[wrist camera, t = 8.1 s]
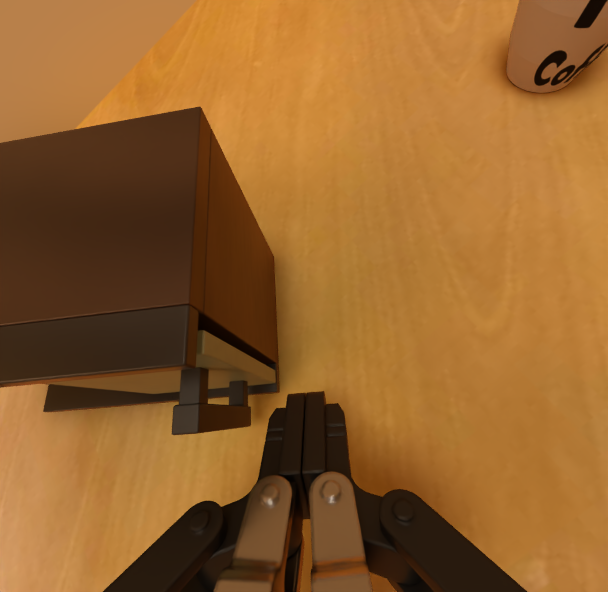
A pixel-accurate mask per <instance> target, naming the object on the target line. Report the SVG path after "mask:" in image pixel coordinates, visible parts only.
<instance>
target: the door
mask: <svg viewBox="0 0 608 592" xmlns="http://www.w3.org/2000/svg"><path fill="white" fill-rule="evenodd" d="M273 383H276V376H275V370H273V369H272V368H270V367H268V366H266V365H265V364H263V363H261V362H259V361H257V360H256V359H254V358H252V357H250V356H249V355H247V354H245V353H243V352H242V351H240V350H238V349H236V348H235V347H233V346H231V345H229V344H227V343H226V342H224V341H222V340H220V339H219V338H217V337H215V336H213V335H212V334H210V333H208V332H206V331H204V330H200V331H198V334H197V355H196V367H195V368H194V369H188V370H177V371H167V372H156V373H146V374H135V375H125V376H115V377H104V378H94V379H83V380H73V381H62V382H52V383H44V384H54V385H65V386H75V387H86V388H96V389H107V390H117V391H127V392H138V393H148V394H160V393H171V392H180V396H179V405H175V406H174V408H173V423H172V435H183V434H196V433H204V432H211V431H219V430H226V429H234V428H241V427H248V426H251V407H249V406H248V386H250V385H261V384H273ZM228 387H229V405H218V404H208V389H216V388H228Z"/></svg>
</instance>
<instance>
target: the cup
mask: <svg viewBox="0 0 608 592" xmlns="http://www.w3.org/2000/svg"><path fill="white" fill-rule="evenodd" d="M607 47H608V0H519V4H518V8H517V12H516V16H515V19H514V23H513V27H512V31H511V35H510V43H509V52H508V60H507V68H506V73H507V76H508V78H509V80H510V81H511V82H512V83H513V84H514V85H516V86H517V87H519V88H521V89H524V90H527V91H531V92H538V93H546V92H552V91H556V90H559V89H561V88H563V87H565V86H566V85H568V84H569V83H570V82H571V81H572V80H573V79H574V78H575V77H577V76H578V75H579V74H580V73H581V72H582V71H583V70H584V69H585V68H587V67H588V66H589V65H590V64H591V63H592V62H593V61H594V60H595V59H596V58H598V57H599V56H600V55H601V54H602V53H603V52H604V51H605V50H606V48H607Z"/></svg>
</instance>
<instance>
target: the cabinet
mask: <svg viewBox="0 0 608 592" xmlns="http://www.w3.org/2000/svg"><path fill="white" fill-rule="evenodd" d="M200 330H204V331H206V332H208V333H210V334H212V335H213V336H215V337H217V338H219V339H220V340H222V341H224V342H226V343H227V344H229V345H231V346H233V347H235V348H236V349H238V350H240V351H242V352H243V353H245V354H247V355H249V356H250V357H252V358H254V359H256V360H257V361H259V362H261V363H263V364H265V365H266V366H268V367H270V368H272V369H273V370H275V376H276V383H273V384H261V385H250V386H248V395H259V394H270V393H279V369H278V344H277V321H276V298H275V275H274V256H273V254H272V252H271V250H270V248H269V246H268V244H267V242H266V240H265V238H264V236H263V234H262V231H261V229H260V227H259V225H258V223H257V221H256V219H255V217H254V215H253V213H252V211H251V209H250V207H249V205H248V203H247V201H246V199H245V197H244V195H243V193H242V190H241V188H240V186H239V184H238V182H237V180H236V178H235V176H234V174H233V172H232V170H231V168H230V166H229V164H228V162H227V160H226V158H225V156H224V154H223V152H222V149H221V147H220V145H219V143H218V141H217V139H216V137H215V135H214V133H213V131H212V129H211V127H210V125H209V123H208V121H207V119H206V117H205V115H204V113H203V111H202V108H201V107H195V108H190V109H184V110H179V111H173V112H168V113H162V114H157V115H151V116H146V117H140V118H135V119H129V120H124V121H118V122H113V123H107V124H102V125H96V126H91V127H85V128H80V129H74V130H69V131H63V132H58V133H53V134H47V135H42V136H36V137H31V138H25V139H20V140H14V141H9V142H3V143H0V387H10V386H21V385H31V384H44V383H52V382H62V381H73V380H83V379H94V378H104V377H115V376H125V375H135V374H146V373H156V372H167V371H177V370H188V369H194V368H195V367H196V355H197V334H198V331H200ZM179 396H180V392H171V393H160V394H148V393H138V392H127V391H117V390H107V389H96V388H86V387H75V386H65V385H54V384H50V385H49V386H48V391H47V396H46V400H45V405H44V410H43V412H60V411H72V410H83V409H95V408H107V407H118V406H130V405H142V404H153V403H165V402H177V401H179ZM223 397H229V387H228V388H216V389H208V399H212V398H223Z"/></svg>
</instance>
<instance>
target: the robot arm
mask: <svg viewBox="0 0 608 592" xmlns="http://www.w3.org/2000/svg"><path fill="white" fill-rule="evenodd" d="M303 519H310V520H311V541H312V562H313V566H312V569H311V592H373V591H372V585H371V580H370V574H369V572H371V573H374V574H377V575H379V576H382V577H384V578H387V579H388V581H389V582H390V583H391V585H392V586H393V587H394V588H395V589H396V591H397V592H527V591H526V590H525V589H524V588H523V587H521V586H520V585H519V584H518V583H517V582H516V581H515V580H513V579H512V578H511V577H510V576H509V575H508V574H506V573H505V572H504V571H503V570H502V569H501V568H500V567H498V566H497V565H496V564H495V563H494V562H493V561H492V560H490V559H489V558H488V557H487V556H486V555H485V554H484V553H482V552H481V551H480V550H479V549H478V548H477V547H476V546H474V545H473V544H472V543H471V542H470V541H469V540H468V539H466V538H465V537H464V536H463V535H462V534H461V533H460V532H458V531H457V530H456V529H455V528H454V527H453V526H452V525H450V524H449V523H448V522H447V521H446V520H445V519H444V518H442V517H441V516H440V515H439V514H438V513H437V512H435V511H434V510H433V509H432V508H431V507H430V506H429V505H427V504H426V503H425V502H424V501H423V500H422V499H421V498H419V497H418V496H417V495H416V494H414V493H412V492H410V491H407V490H403V489H397V490H392V491H390V492H388V493H386V494H385V495H384V496H383V497H381V496H377V495H374V494H370V493H368V492H365V491H363V490H362V489H361V488H359V487H358V486H357V485H356V484H355V482H354V481H353V479H352V477H351V469H350V459H349V449H348V439H347V432H346V424H345V416H344V412H343V410H342V409H341V407H340V406H339V404H338V403H337V404H326V399H325V393H324V391H321V392H309V393H297V394H288V396H287V403H286V408H276V409H275V411H274V412H273V414H272V415H271V417H270V418H269V423H268V429H267V434H266V442H265V445H264V450H263V456H262V461H261V467H260V472H259V477H258V480H257V483H256V484H255V485H254V487H253V488H252V490H251V491H250V492H249V494H247V495H246V496H245V497H243V498H242V499H240V500H238V501H235V502H233V503H230V504H228V505H225V506H223V507H220V505H219V504H217V503H216V502H214V501H203V502H200V503H198V504H196V505H194V506H193V507H191V508H190V509H189V510H188V511H187V512H186V513H185V514H184V515H183V516H182V517H181V518H179V519H178V520H177V521H176V522H175V523H174V524H173V525H172V526H171V527H170V528H169V529H168V530H167V531H166V532H165V533H164V534H163V535H162V536H161V537H160V538H159V539H157V540H156V541H155V542H154V543H153V544H152V545H151V546H150V547H149V548H148V549H147V550H146V551H145V552H144V553H143V554H142V555H141V556H140V557H139V558H138V559H137V560H136V561H134V562H133V563H132V564H131V565H130V566H129V567H128V568H127V569H126V570H125V571H124V572H123V573H122V574H121V575H120V576H119V577H118V578H117V579H116V580H115V581H114V582H113V583H111V584H110V585H109V586H108V587H107V588H106V589H105V590H104V591H103V592H300V586H301V576H302V566H303V556H304V545H305V543H304V537H303V533H302V527H303Z"/></svg>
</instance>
